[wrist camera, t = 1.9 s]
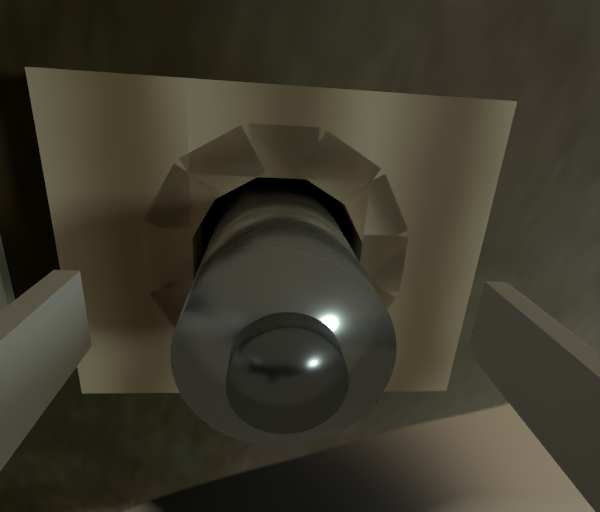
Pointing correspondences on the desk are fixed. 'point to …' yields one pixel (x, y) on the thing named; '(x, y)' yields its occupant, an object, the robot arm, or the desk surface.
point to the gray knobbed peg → (281, 323)
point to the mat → (5, 281)
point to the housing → (243, 168)
